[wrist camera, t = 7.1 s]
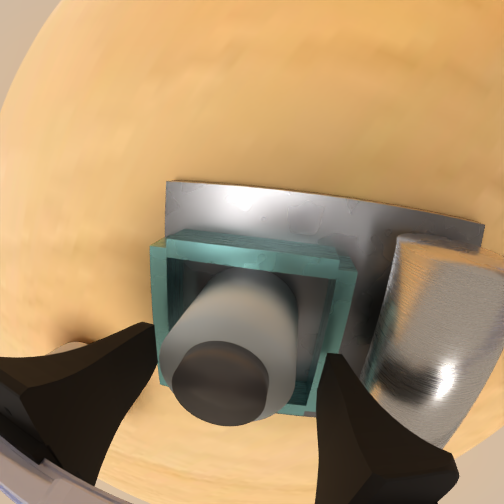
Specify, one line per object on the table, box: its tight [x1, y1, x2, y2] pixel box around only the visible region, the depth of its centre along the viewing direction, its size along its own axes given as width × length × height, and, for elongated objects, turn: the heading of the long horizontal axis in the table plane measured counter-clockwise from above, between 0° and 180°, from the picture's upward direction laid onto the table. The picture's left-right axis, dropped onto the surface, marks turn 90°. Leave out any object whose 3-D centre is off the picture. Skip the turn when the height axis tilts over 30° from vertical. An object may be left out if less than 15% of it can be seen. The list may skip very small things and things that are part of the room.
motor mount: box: [150, 180, 504, 449], centre depth 12 cm, size 16×13×7 cm
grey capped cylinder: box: [159, 267, 298, 426], centre depth 12 cm, size 5×5×6 cm
